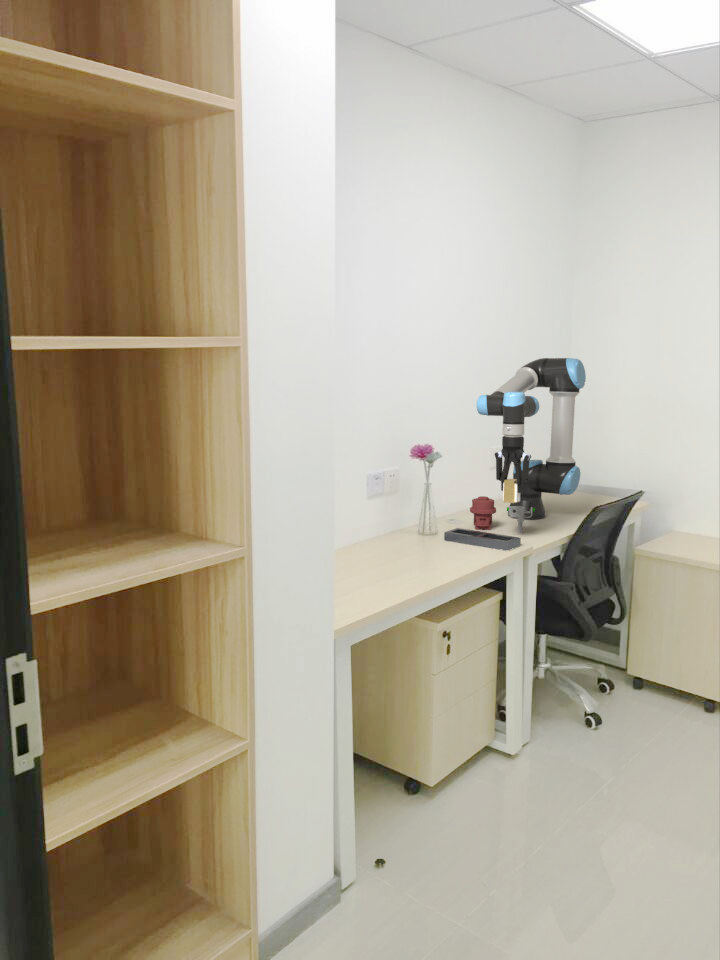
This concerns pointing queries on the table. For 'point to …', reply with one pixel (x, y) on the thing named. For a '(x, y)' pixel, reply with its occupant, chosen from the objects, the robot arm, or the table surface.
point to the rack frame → (482, 539)
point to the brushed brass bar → (509, 490)
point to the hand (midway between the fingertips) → (511, 500)
